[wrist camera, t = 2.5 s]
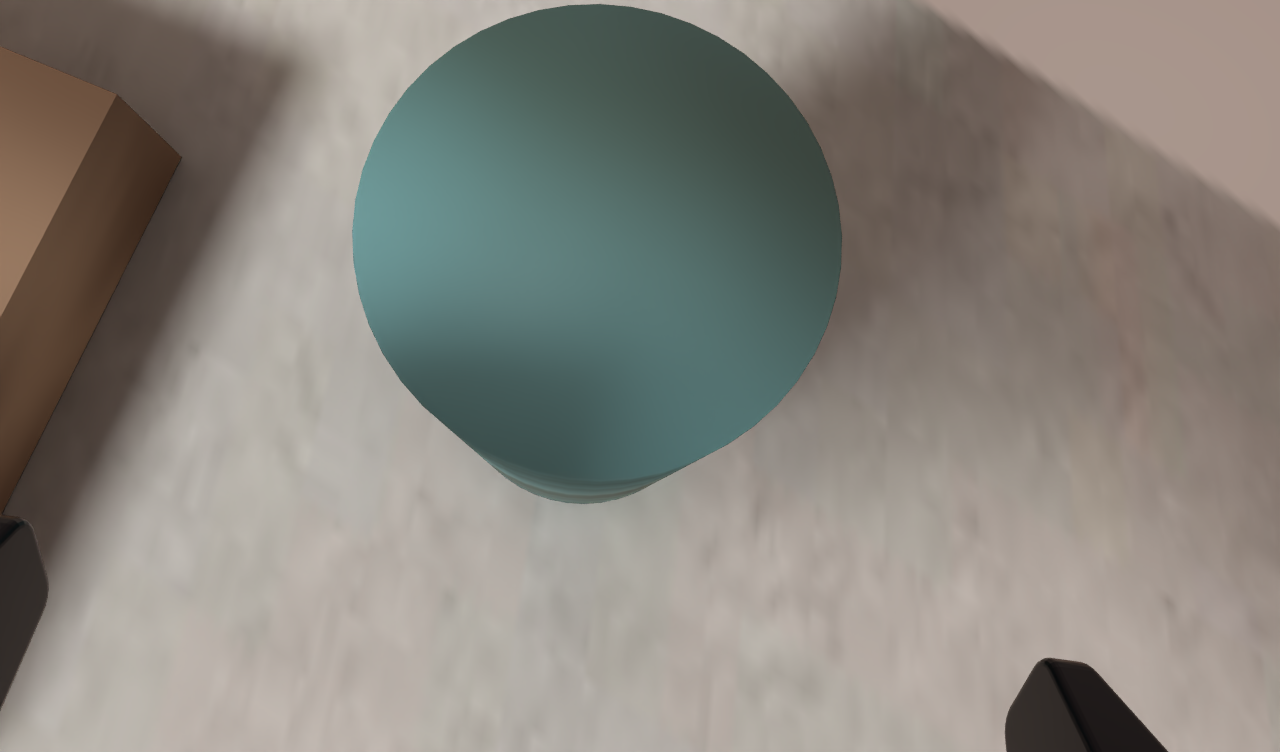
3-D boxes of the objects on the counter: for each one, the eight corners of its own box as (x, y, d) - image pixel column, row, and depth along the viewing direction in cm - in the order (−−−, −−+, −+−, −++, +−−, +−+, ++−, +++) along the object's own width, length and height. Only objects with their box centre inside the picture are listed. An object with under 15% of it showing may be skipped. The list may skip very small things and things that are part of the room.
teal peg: (654, 542, 20) (740, 555, 10) (414, 445, 20) (269, 364, 10) (746, 309, 21) (907, 112, 11) (515, 215, 21) (471, -66, 11)
